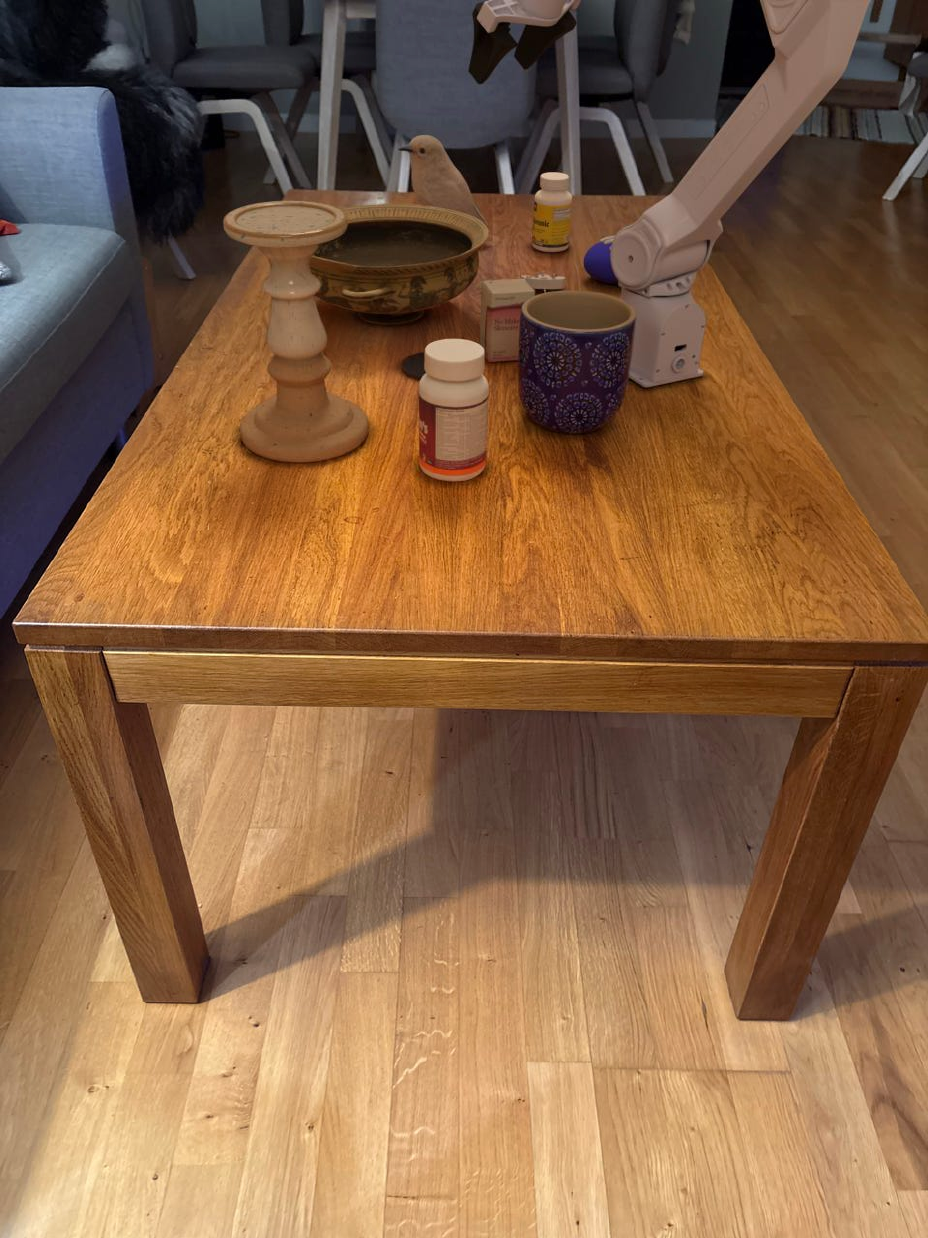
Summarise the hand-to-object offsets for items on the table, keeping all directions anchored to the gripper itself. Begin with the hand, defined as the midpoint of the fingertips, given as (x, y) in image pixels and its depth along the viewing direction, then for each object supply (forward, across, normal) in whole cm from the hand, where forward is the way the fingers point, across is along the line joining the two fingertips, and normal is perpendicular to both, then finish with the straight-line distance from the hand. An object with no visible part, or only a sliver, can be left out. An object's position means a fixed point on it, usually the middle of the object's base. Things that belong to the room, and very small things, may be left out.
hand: (498, 69), depth 109 cm
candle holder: (+10, +43, +23) cm, 50 cm away
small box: (+12, +15, +26) cm, 32 cm away
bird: (+33, -9, +1) cm, 34 cm away
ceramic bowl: (+23, +15, +11) cm, 30 cm away
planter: (+2, +22, +37) cm, 44 cm away
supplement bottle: (+27, -20, +10) cm, 35 cm away
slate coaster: (+13, +23, +22) cm, 35 cm away
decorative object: (+17, -15, +23) cm, 32 cm away
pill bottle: (+2, +38, +35) cm, 52 cm away
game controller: (+18, -2, +20) cm, 27 cm away
